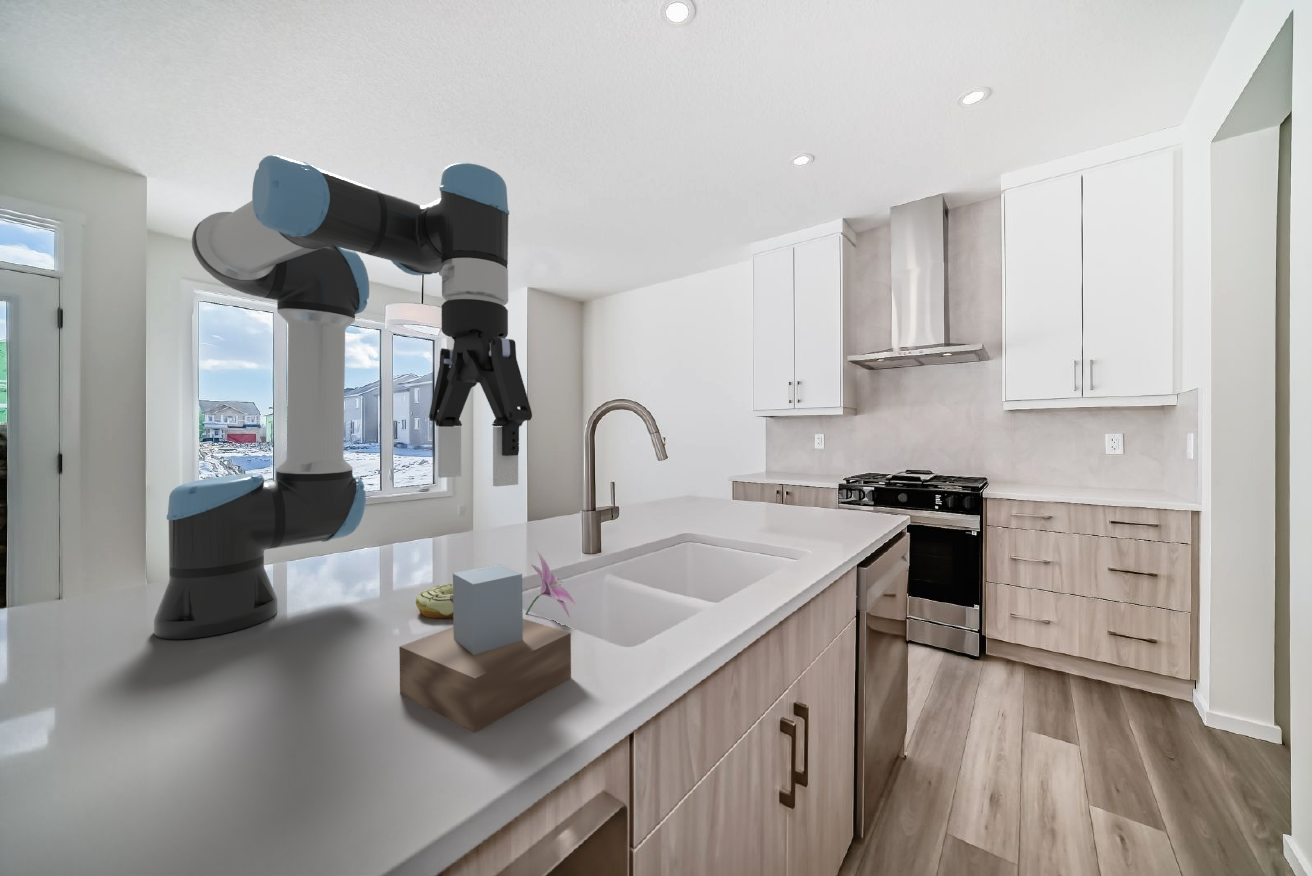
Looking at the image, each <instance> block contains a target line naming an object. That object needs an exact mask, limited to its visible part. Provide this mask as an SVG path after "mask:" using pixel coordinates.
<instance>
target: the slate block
mask: <svg viewBox="0 0 1312 876" xmlns="http://www.w3.org/2000/svg"><path fill="white" fill-rule="evenodd" d="M452 584H453V618H452V619H453V626H452V627H454V640H456V641H457V642H458V643H459V644H461V645H462V646H463V647H464V648H466V649H467V650H468V651H470V652H471V653H472V654H473V655H476V654H479V653H482V652H485V651H489V650H492V649H495V648H499V647H502V646H505V645H508V644H512V643H515V642H518V641H521V640H523V619H524V618H523V617H524V616H523V614H524V612H523V611H524V610H523V573H521V572H518V571H517V570H514V569H512V568H510V567H507V566H505V565H502V564H500V563H499V564H494V565H489V566H483V567H479V568H474V569H468V570H462V571H458V572H457V571H456V572H454V573H452Z"/></svg>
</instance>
